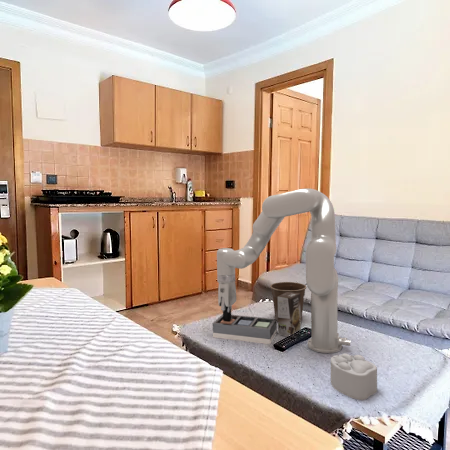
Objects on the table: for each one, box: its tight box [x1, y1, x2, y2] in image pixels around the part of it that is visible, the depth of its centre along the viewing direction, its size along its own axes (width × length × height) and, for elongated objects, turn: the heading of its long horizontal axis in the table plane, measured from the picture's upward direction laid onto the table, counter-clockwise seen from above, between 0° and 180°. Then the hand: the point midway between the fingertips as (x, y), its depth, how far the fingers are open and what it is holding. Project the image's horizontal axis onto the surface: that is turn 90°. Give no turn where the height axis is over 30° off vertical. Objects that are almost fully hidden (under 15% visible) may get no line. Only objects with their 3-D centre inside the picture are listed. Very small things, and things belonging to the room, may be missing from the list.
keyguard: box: [212, 313, 278, 339], centre depth 146 cm, size 24×12×4 cm, turn 69°
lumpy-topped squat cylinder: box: [330, 353, 378, 401], centre depth 104 cm, size 10×13×9 cm
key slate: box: [237, 320, 252, 326], centre depth 145 cm, size 5×5×2 cm
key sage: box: [255, 322, 270, 328], centre depth 143 cm, size 5×5×2 cm
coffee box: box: [277, 292, 302, 337], centre depth 147 cm, size 9×6×16 cm
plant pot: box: [269, 281, 307, 323], centre depth 161 cm, size 16×16×16 cm
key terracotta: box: [220, 319, 235, 324], centre depth 148 cm, size 5×5×2 cm
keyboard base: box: [212, 328, 278, 345], centre depth 146 cm, size 24×12×2 cm, turn 69°
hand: (227, 320), depth 148 cm, fingers closed
